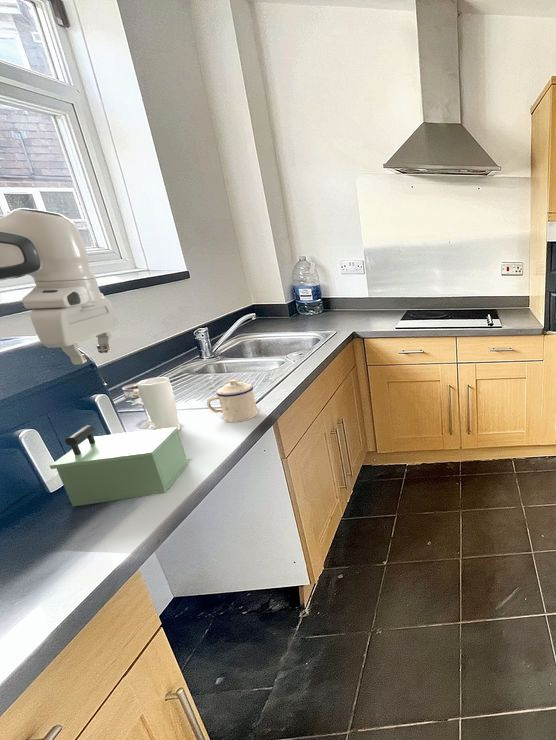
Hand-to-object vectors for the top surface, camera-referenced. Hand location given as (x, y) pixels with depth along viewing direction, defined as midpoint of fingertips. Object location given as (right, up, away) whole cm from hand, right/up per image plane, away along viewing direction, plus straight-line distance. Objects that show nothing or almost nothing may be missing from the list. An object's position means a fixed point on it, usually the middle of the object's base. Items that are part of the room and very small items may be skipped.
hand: (93, 357), depth 91 cm
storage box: (+9, -28, 0) cm, 29 cm away
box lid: (+8, -19, -3) cm, 21 cm away
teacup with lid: (+9, -16, +33) cm, 38 cm away
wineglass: (-12, -18, +29) cm, 36 cm away
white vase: (-4, -19, +24) cm, 31 cm away
